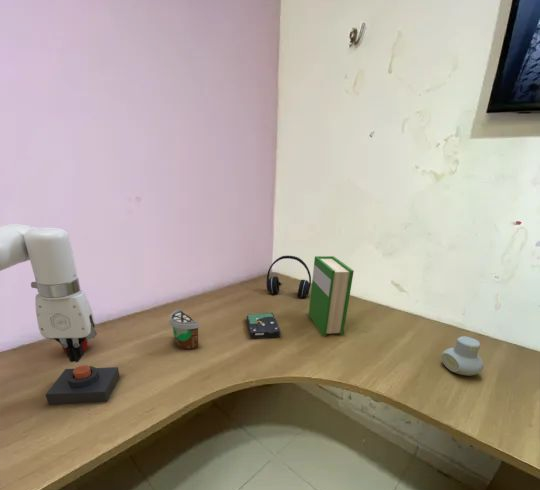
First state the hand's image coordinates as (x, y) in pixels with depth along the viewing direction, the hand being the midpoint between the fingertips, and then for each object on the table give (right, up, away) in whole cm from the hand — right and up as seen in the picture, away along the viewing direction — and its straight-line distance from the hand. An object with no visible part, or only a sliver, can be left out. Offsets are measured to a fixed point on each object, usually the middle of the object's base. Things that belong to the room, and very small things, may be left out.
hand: (76, 358), depth 74 cm
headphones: (+55, +19, +69) cm, 90 cm away
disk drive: (+44, +5, +38) cm, 58 cm away
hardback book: (+67, +6, +43) cm, 80 cm away
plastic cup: (-12, -1, +20) cm, 23 cm away
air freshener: (+104, -6, +19) cm, 106 cm away
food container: (+18, +1, +26) cm, 32 cm away
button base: (0, -9, +4) cm, 9 cm away
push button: (0, -4, +2) cm, 5 cm away
